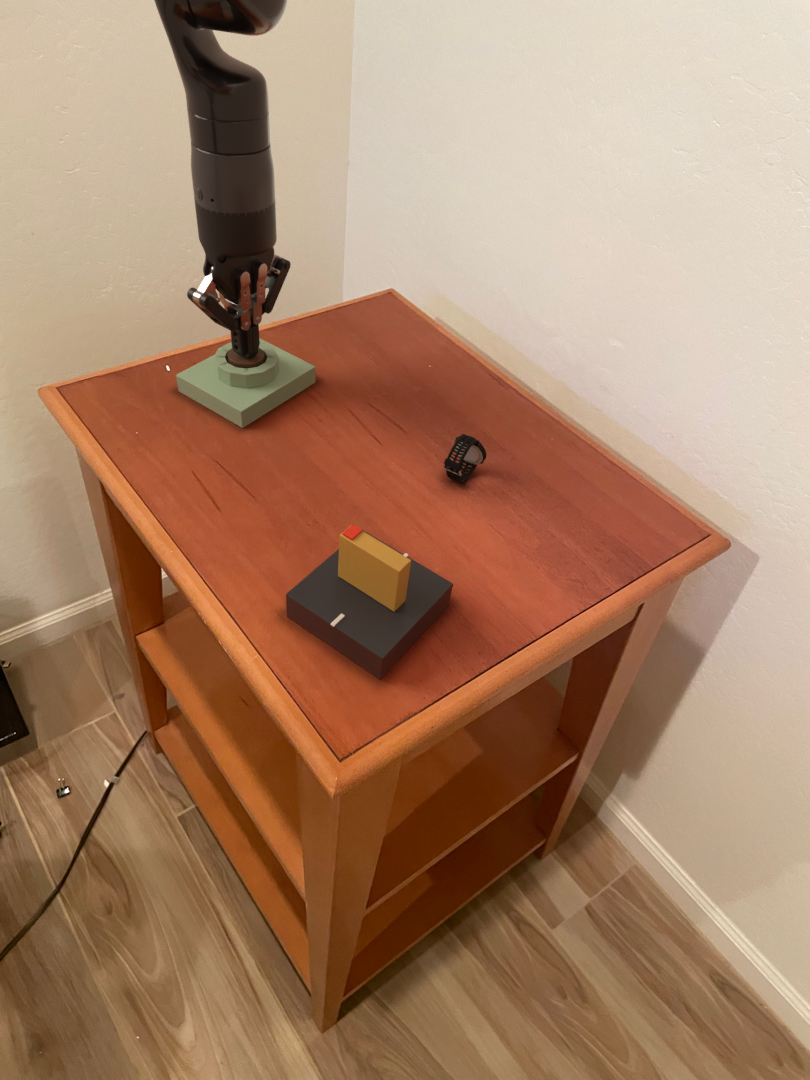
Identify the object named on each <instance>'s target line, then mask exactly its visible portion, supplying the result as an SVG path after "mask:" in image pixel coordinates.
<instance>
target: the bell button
mask: <svg viewBox="0 0 810 1080" xmlns="http://www.w3.org/2000/svg"><path fill="white" fill-rule="evenodd" d="M228 363H229V364H231V365H233V366H234V367H238V368H245V369H248V368H254V367H258V366H260V365H262V364H263V363H265V358H264V352H263V350H262V349H260V348H258V354H256V355H254V356H253V357H251V358H249V359H245V358H243V357H242V356H240V355H238V354H237V353H236V352H234V351H233V349H230V350H229V352H228Z"/></svg>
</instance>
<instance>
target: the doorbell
mask: <svg viewBox="0 0 810 1080" xmlns="http://www.w3.org/2000/svg"><path fill="white" fill-rule="evenodd" d="M259 340H260V344H259V348H260V349H262V350H263V352H264V358H265V363H263V364H262V365H260V366H258V367H254V368H248V369H245V368H238V367H234V366H233V365H231V364H229V363H228V352H229V350H230V349H232V341H230V342H228V343H226V344H223V345H222V346H220V347H218V348H217V350H216V352H215V354H213V355H211V356H209V357H207V358H206V359H203V360H201V361H199V362H197V363H196V364H194V365H192V366H190V367H188V368H186V369H184V370H183V371H180V372H179V373H176V374H175V378H176V384H177V391H178V392H179V393H181V394H182V395H184V396H186V397H188V398H190V399H191V400H193V401H195V402H196V403H198V404H200V405H201V406H203V407H205V408H207V409H209V410H210V411H212V412H214V413H215V414H217V415H218V416H221V417H222V418H224V419H226V420H227V421H229V422H231V423H233V424H234V425H237V426H238V427H240V428H241V429H244V428H245V427H247V426H248V425H250V424H252V423H253V422H255V421H256V420H258V419H259V418H261V417H263V416H264V415H266V414H267V413H269V412H271V411H272V410H274V409H275V408H277V407H279V406H280V405H282V404H283V403H285V402H286V401H288V400H290V399H292V398H293V397H294V396H296V395H298V394H299V393H301V392H302V391H304V390H305V389H307V388H309V387H311V386H312V385H314V384H315V383H316V366H315V365H313V364H311V363H309V362H307V361H306V360H303V359H302V358H299V357H298V356H296V355H294V354H292V353H289V352H288V351H286V350H284V349H282V348H280V347H278V346H276V345H274V344H272V343H270V342H268V341H266V340H265V339H262V338H260V337H259Z"/></svg>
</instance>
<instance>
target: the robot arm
mask: <svg viewBox="0 0 810 1080" xmlns="http://www.w3.org/2000/svg"><path fill="white" fill-rule="evenodd" d="M154 3H155V7H156V10H157V12H158V16H159V18H160V21H161V25H162V26H163V29H164V31H165V34H166V37H167V39H168V42H169V45H170V48H171V52H172V55H173V57H174V58H173V59H174V60H175V64H176V67H177V70H178V73H179V77H180V80H181V83H182V86H183V89H184V93H185V101H186V111H187V122H188V127H189V128H188V129H189V138H190V150H191V151H190V171H191V182H192V190H193V191H192V192H193V199H194V209H195V216H196V225H197V233H198V234H197V235H198V241H199V243H200V245H201V247H202V249H203V251H204V255H205V256H204V257H205V258H204V263H203V267H202V273H203V275H204V278H203V280H201V282H200V285H199V286H198V288H195V287H190V288H189V289H188V290H187V293H186V296H187V299H188V300H190V302H192V303H193V304H194V305H195V306H196V307H197V308H198V309H199V310H200V311H201V312H202V313H203V314H205V315H206V316H207V317H208V318H209V319H210V320H211V321H213V322H214V323H215V324H217V325H218V326H221V327H222V328H224V329H226V330H228V331H229V332H230V340H231V341H230V342H232V349H233V351H234V352H236V353H237V354H238V355H240V356H242V357H243V358H245V359H249V358H251V357H253V356H254V355H256V354H258V348H259V344H260V340H259V338H260V327H259V326H260V324H261V322H262V320H263V315H265V314H268V315H269V314H271V313H272V311H273V309H274V307H275V305H276V302H277V300H278V297H279V295H280V292H281V290H282V287H283V285H284V284H285V281H286V278H287V276H288V273H289V271H290V269H291V261H290V260H288V259H286V258H285V257H283V256H280V255H278V254H275V248H274V247H275V245H276V243H277V239H278V238H277V214H276V213H277V212H276V211H277V210H276V190H275V189H276V188H275V187H276V183H275V167H274V161H273V154H272V150H271V149H272V147H271V132H270V129H271V128H270V104H269V103H270V101H269V90H268V83H267V80H266V77H265V76H264V74H263V73H262V72H261V71H260V70H259V69H257V68H256V67H255V66H252V65H250V64H248V63H245V62H244V61H241V60H239V59H237V58H236V57H233V56H232V55H230V54H229V53H227V52H226V51H224V50H223V48H222V47H221V44H220V43H219V41H218V39H217V37H216V35H215V32H214V31H216V32H224V33H231V34H235V35H241V36H248V37H249V36H250V37H257V36H263V35H265V34H267V33H269V32H271V31H272V30H273V29H274V28H275V27H276V26H278V24H279V23H280V21H281V20H282V18H283V16H284V13H285V12H286V7H287V4H288V0H154ZM266 289H268V291H267V294H266ZM220 303H221V304H222V305H223V306H222V305H221V304H220Z"/></svg>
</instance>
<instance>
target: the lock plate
mask: <svg viewBox="0 0 810 1080" xmlns="http://www.w3.org/2000/svg"><path fill="white" fill-rule="evenodd" d="M360 529H361V530H362V531H363V532H365V533H367V534H368V535H370V536H372V537H373V538H375V539H377V540H378V541H380V542H382V543H383V544H385V545H387V546H388V547H390V548H392V549H393V550H395V551H397V552H398V553H400V554H402V555H403V556H405V557H407V558H408V559H410V560H411V566H410V573H409V580H408V587H407V594H406V600H405V602H404V603H403V604H402V605H401V606H400V607H399V608H398V609H397V610H396V611H395V612H394V611H392V610H390V609H389V608H387V607H386V606H384V605H383V604H381V603H379V602H378V601H376V600H375V599H373V598H372V597H370V596H369V595H367V594H365V593H364V592H362V591H361V590H359V589H358V588H356V587H354V586H353V585H351V584H350V583H348V582H347V581H345V580H344V579H342V578H340V577H339V576H338V561H339V548H338V549H337V550H336V551H334V552H333V553H332V554H331V555H330V556H328V557H327V558H326V559H325V560H324V561H322V562H321V564H319V565H318V566H317V567H316V568H314V570H312V571H311V572H310V573H309V574H307V576H305V577H304V578H303V579H302V580H301V581H299V582H298V583H297V584H296V585H295V586H293V587H292V588H291V589H290V590H288V592H287V593H286V594H285V600H286V601H285V603H286V617H287V618H288V619H289V620H291V621H292V622H294V623H295V624H297V625H298V626H300V627H301V628H303V629H304V630H306V631H307V632H308V633H310V634H311V635H313V636H315V637H316V638H318V639H319V640H321V642H323V643H325V644H326V645H328V646H329V647H331V648H332V649H334V650H335V651H336V652H338V653H339V654H341V655H342V656H344V657H345V658H347V659H348V660H350V661H351V662H353V663H354V664H355V665H357V666H358V667H360V668H362V669H363V670H365V671H366V672H367V673H369V674H371V676H373V677H375V678H376V679H378V680H379V681H381V680H382V679H383V678H385V676H386V674H387V673H388V672H389V671H390V670H391V669H392V668H393V667H394V666H395V665H396V664H397V663H398V662H399V660H400V659H401V658H402V657H403V656H404V655H405V654H406V653H407V652H408V651H409V650H410V649H411V647H413V645H414V644H415V643H416V642H417V641H418V640H419V639H420V638H421V637H422V636H423V635H424V633H426V631H427V630H428V629H429V628H430V627H431V626H432V625H433V623H434V622H435V621H436V620H437V619H438V618H439V617H441V615H442V614H443V613H444V611H445V610H447V608H449V606H450V601H451V597H452V591H453V588H454V583H452V582H451V581H450V580H448V579H446V578H445V577H443V576H441V575H439V574H438V573H436V572H434V571H433V570H431V569H429V568H428V567H426V566H424V565H422V564H421V563H419V562H417V561H416V560H414V559H413V558H411V557H410V556H409V555H410V554H409V553H407V552H404V553H402V552H400V551H399V550H398V549H396V548H394V547H392V546H390V545H389V544H387V543H386V542H384V541H382V540H381V539H380V538H377V537H375V536H374V535H372V534H371V533H369V532H367V531H365V530H364V529H362V528H360Z"/></svg>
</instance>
